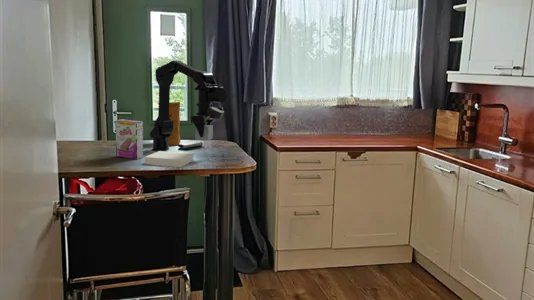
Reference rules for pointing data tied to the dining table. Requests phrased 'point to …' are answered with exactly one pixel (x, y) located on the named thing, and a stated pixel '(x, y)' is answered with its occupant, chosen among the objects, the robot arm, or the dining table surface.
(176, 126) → the coffee package
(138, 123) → the candy bar box
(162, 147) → the robot arm
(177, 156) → the base block
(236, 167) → the dining table surface
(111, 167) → the dining table surface
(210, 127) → the grey cube
